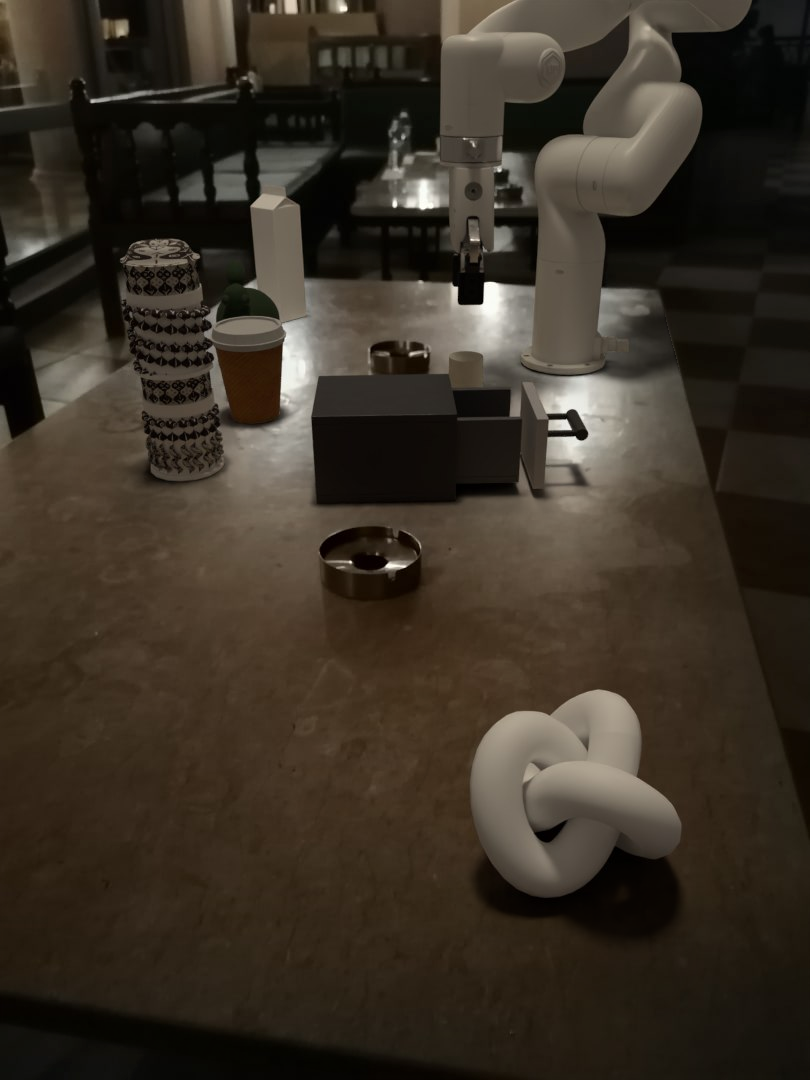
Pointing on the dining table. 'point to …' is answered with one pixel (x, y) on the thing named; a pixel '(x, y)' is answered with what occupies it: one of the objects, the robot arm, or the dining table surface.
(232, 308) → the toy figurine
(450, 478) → the dark gray cabinet
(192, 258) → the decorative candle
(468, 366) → the cylinder
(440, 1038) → the dining table surface
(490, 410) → the drawer
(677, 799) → the dining table surface
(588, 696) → the white knot sculpture
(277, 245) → the milk
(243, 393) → the disposable coffee cup
